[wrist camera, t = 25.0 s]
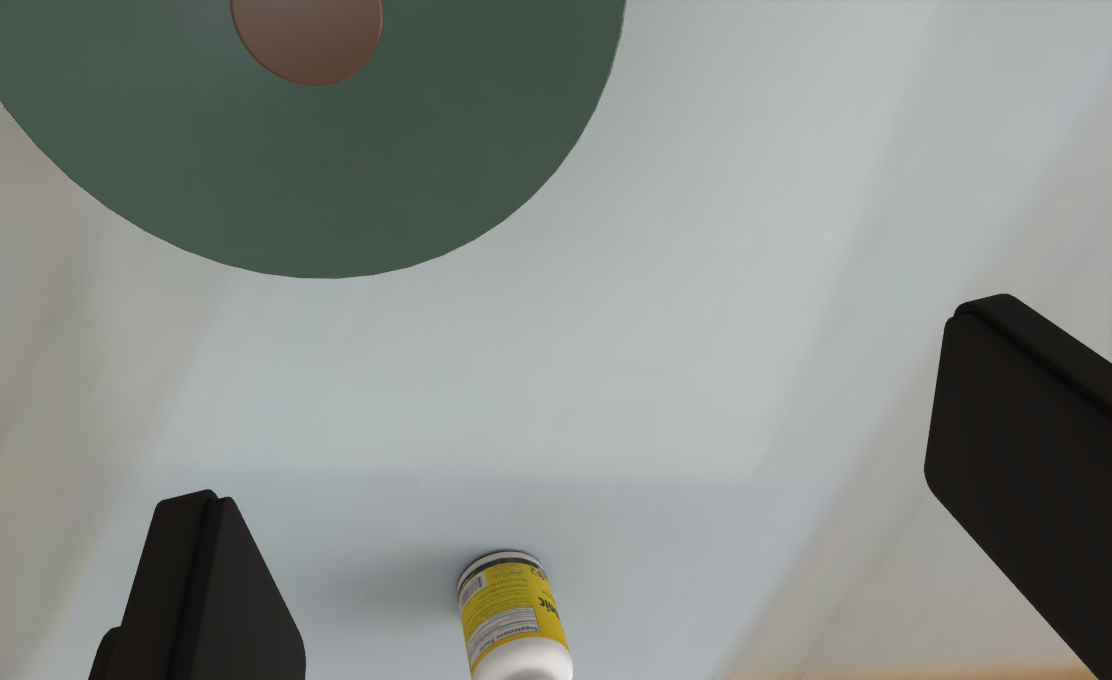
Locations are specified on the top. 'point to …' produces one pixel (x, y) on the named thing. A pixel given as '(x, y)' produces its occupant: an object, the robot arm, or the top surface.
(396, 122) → the lid
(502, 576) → the supplement bottle
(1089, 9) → the top surface
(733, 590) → the top surface
